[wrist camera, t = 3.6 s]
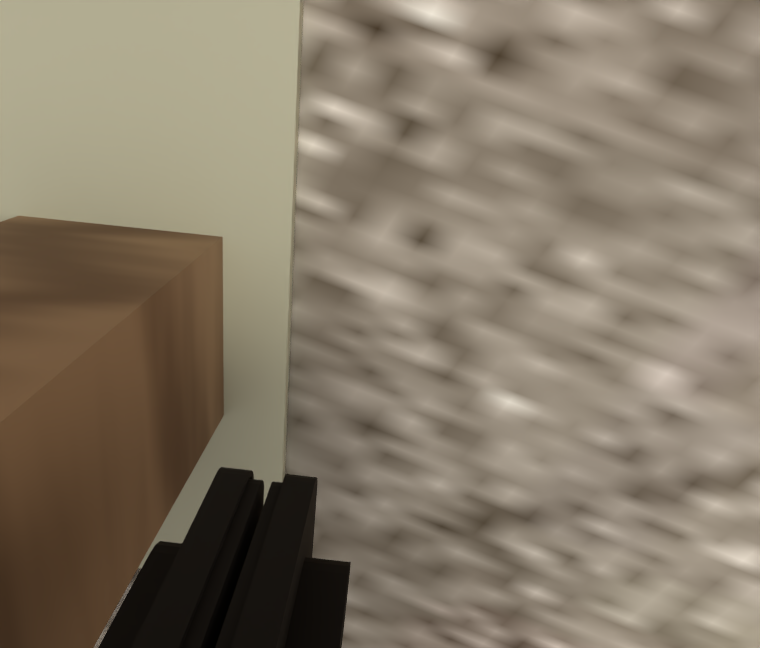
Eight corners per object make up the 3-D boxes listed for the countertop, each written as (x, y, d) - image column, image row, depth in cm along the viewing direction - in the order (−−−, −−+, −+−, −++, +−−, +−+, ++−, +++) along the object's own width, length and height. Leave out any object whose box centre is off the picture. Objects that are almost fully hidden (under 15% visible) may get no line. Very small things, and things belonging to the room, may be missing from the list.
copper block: (222, 236, 18) (-104, 510, 7) (224, 415, 20) (-17, 842, 9) (18, 215, 18) (-650, 450, 7) (43, 395, 20) (-423, 795, 9)
